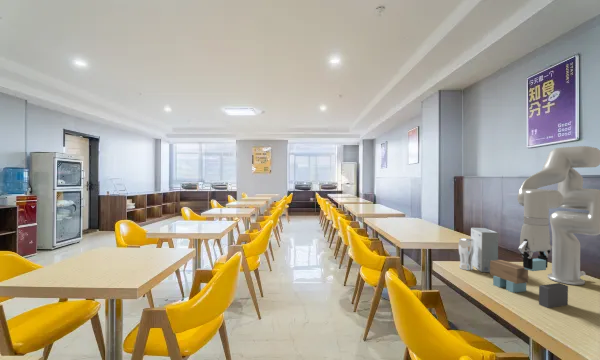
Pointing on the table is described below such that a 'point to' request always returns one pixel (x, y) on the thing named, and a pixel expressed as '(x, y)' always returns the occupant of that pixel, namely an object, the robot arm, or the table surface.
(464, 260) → the beer glass
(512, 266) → the slab
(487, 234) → the hard drive box
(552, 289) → the block
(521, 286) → the block
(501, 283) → the block
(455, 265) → the table surface
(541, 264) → the batten
